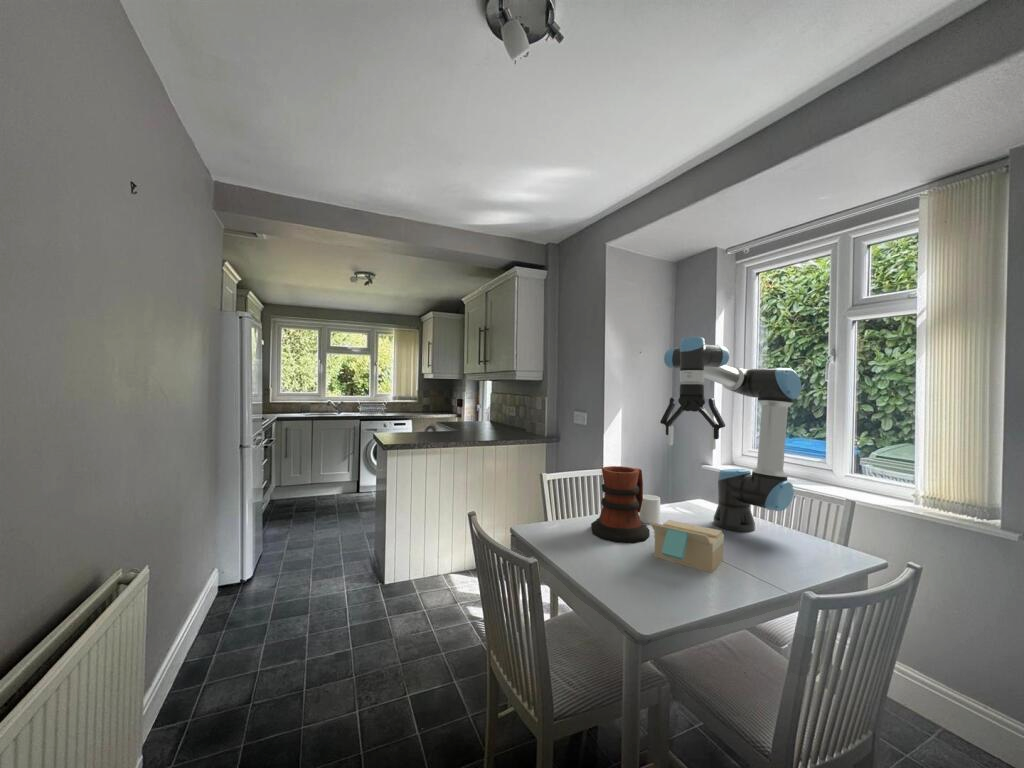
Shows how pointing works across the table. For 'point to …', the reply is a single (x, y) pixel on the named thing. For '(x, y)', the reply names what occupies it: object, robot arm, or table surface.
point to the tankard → (621, 506)
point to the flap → (678, 540)
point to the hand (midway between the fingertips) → (691, 447)
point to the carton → (695, 547)
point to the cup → (650, 509)
